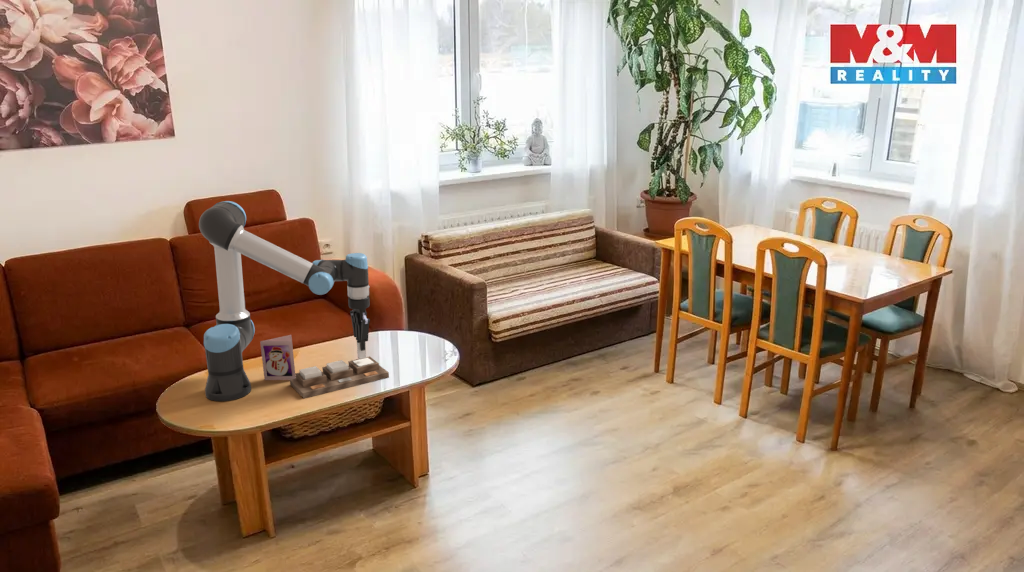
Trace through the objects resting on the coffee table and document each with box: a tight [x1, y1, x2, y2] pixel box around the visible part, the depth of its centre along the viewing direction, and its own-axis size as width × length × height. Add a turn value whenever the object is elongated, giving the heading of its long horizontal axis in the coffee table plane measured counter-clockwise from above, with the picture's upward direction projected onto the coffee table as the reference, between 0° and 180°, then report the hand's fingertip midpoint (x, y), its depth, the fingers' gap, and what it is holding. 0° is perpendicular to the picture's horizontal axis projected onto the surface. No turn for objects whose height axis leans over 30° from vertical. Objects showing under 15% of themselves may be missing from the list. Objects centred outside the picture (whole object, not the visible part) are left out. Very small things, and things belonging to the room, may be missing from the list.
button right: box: [353, 358, 374, 367], centre depth 291 cm, size 6×6×2 cm
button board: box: [289, 355, 390, 400], centre depth 285 cm, size 32×14×4 cm, turn 123°
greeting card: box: [259, 334, 296, 381], centre depth 288 cm, size 11×7×15 cm, turn 90°
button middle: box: [325, 359, 349, 373], centre depth 286 cm, size 6×6×2 cm
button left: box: [299, 365, 323, 380], centre depth 281 cm, size 6×6×2 cm
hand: (361, 357), depth 290 cm, fingers closed
